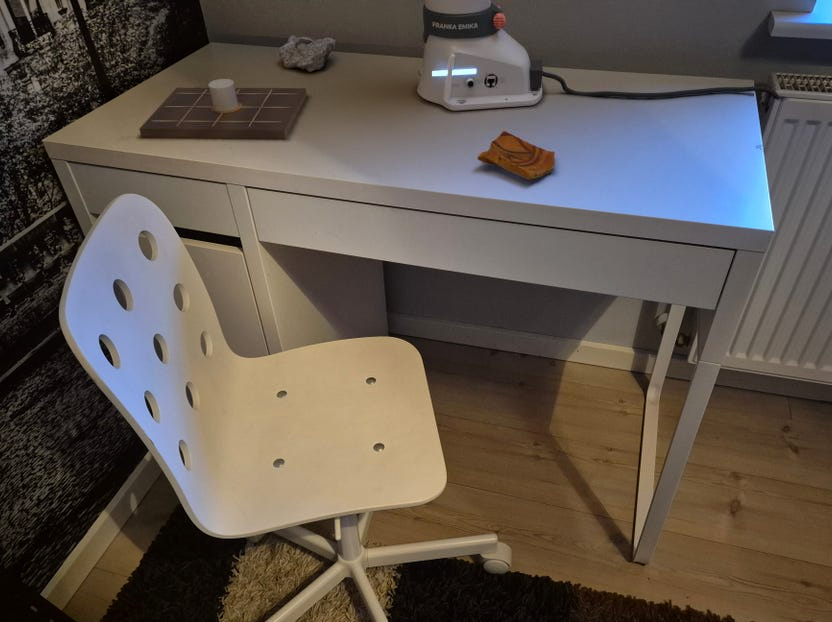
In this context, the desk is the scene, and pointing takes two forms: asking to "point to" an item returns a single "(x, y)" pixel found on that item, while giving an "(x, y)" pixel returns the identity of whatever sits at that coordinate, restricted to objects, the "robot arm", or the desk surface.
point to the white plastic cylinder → (223, 95)
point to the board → (226, 114)
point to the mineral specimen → (306, 52)
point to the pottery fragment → (518, 156)
